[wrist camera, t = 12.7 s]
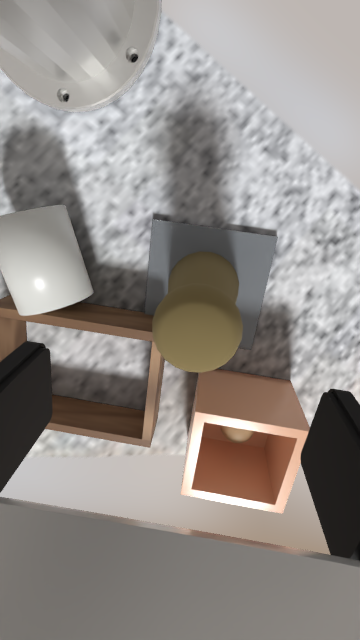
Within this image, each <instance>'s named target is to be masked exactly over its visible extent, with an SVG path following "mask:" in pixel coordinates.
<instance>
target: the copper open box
mask: <svg viewBox="0 0 360 640" xmlns="http://www.w3.org/2000/svg"><path fill="white" fill-rule="evenodd" d="M220 425H223V426H228V427H234V428H240V429H246V430H251V431H254V434H253V436H252V437H251V438H250V439H249V440H248V441H246V442H244V443H233V442H231V441H229V440H228V439H226V438H225V436H224V435H223V433H222V431H221V428H220ZM309 430H310V427H309V425H308V422H307V420H306V418H305V415H304V413H303V410H302V408H301V405H300V403H299V400H298V398H297V396H296V393H295V391H294V388H293V386H292V383H291V381H289V380H283V379H277V378H271V377H264V376H258V375H252V374H246V373H240V372H234V371H228V370H222V369H215V370H212V371H207V372H202V373H198V379H197V385H196V391H195V397H194V402H193V408H192V414H191V420H190V426H189V432H188V438H187V446H186V454H185V463H184V471H183V479H182V488H181V495H186V496H192V497H197V498H203V499H208V500H213V501H219V502H224V503H229V504H234V505H240V506H245V507H250V508H255V509H261V510H267V511H271V512H277V513H283V511H284V508H285V505H286V502H287V500H288V497H289V494H290V491H291V488H292V485H293V483H294V479H295V477H296V474H297V471H298V468H299V466H300V463H301V451H302V449H303V446H304V443H305V440H306V438H307V435H308V432H309Z"/></svg>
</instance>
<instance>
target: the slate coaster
mask: <svg viewBox="0 0 360 640" xmlns="http://www.w3.org/2000/svg"><path fill="white" fill-rule="evenodd" d="M277 238H278V237H277V236H270V235H263V234H256V233H249V232H242V231H235V230H228V229H221V228H214V227H207V226H200V225H192V224H185V223H178V222H171V221H164V220H157V219H153V224H152V235H151V246H150V257H149V268H148V279H147V290H146V301H145V312H144V314H147V315H153V316H154V314H155V311H156V308H157V307H158V305H159V304H160V302H161V301H162V300H163V299H164V297H165V296H166V295H167V294H168V280H169V277H170V274H171V271H172V269H173V268H174V267H175V265H176V264H177V263H178V261H179V260H181V259H182V258H184V257H185V256H187V255H188V254H192V253H195V252H199V251H201V252H212V253H215V254H218V255H221V256H222V257H224V258H225V259H226V260H227V261H229V262H230V263H231V265H232V266H233V268H234V269H235V271H236V273H237V277H238V281H239V290H238V297H237V301H236V306H237V307H238V309H239V312H240V316H241V320H242V324H243V332H242V340H241V342H240V344H239V346H238V348H243V349H249V350H251V348H252V344H253V340H254V336H255V332H256V327H257V323H258V319H259V315H260V310H261V306H262V302H263V298H264V293H265V289H266V285H267V281H268V276H269V272H270V268H271V264H272V259H273V255H274V251H275V247H276V243H277Z"/></svg>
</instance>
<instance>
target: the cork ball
mask: <svg viewBox="0 0 360 640" xmlns="http://www.w3.org/2000/svg"><path fill="white" fill-rule="evenodd" d="M220 428H221V431H222V433H223V435H224V436H225V438H226V439H228V440H229V441H231V442H233V443H244V442H246V441H248V440H249V439H250V438H251V437H252V436H253V434H254V431H251V430H246V429H240V428H234V427H228V426H223V425H220Z"/></svg>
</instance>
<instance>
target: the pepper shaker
mask: <svg viewBox="0 0 360 640" xmlns="http://www.w3.org/2000/svg"><path fill="white" fill-rule="evenodd" d="M238 290H239V281H238V277H237V273H236V271H235V269H234V268H233V266H232V265H231V263H230V262H229V261H227V260H226V259H225V258H224V257H222V256H221V255H218V254H215V253H212V252H201V251H199V252H195V253H192V254H188V255H187V256H185V257H184V258H182V259H181V260H179V261H178V263H177V264H176V265H175V267H174V268H173V269H172V271H171V274H170V277H169V280H168V294H167V295H166V296H165V297H164V299H163V300H162V301H161V302H160V304H159V305H158V307H157V308H156V311H155V314H154V317H153V320H152V333H153V339H154V342H155V345H156V347H157V350H158V351H159V352H160V354H161V355H162V356H163V358H164V359H165V360H166V361H168V362H169V363H170V364H172V365H173V366H175V367H176V368H179V369H182V370H185V371H188V372H199V373H202V372H207V371H212V370H215V369H217V368H219V367H221V366H222V365H224V364H226V363H227V362H228V361H229V360H230V359H231V358H232V357H233V356H234V355H235V353H236V351H237V348H238V346H239V344H240V342H241V340H242V332H243V324H242V320H241V316H240V312H239V309H238V307H237V306H236V301H237V297H238Z"/></svg>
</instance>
